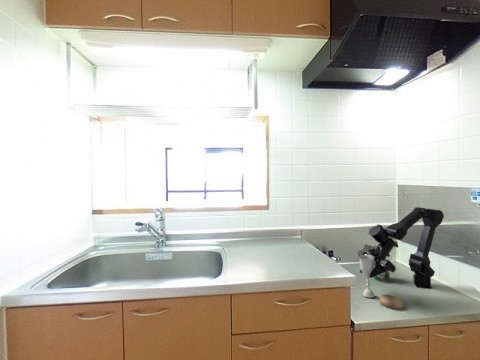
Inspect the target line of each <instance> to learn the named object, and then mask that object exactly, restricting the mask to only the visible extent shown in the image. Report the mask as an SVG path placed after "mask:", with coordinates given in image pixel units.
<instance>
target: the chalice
mask: <svg viewBox="0 0 480 360" xmlns="http://www.w3.org/2000/svg"><path fill="white" fill-rule="evenodd" d="M357 258H358V259H359V268H360V269H361V271H362V273H361V274H363V277H366V279H365V281H366V284H365V285H366V288H365V289H364V290H363V293H362V296H364V297H366V298H374V297H375V294H374V292H373V290H372V289H371V288H370V286H371V284H370V277H369V276H370V274H371V272H372V271H373V269H374V258H375V257H374V256H372V255H370V254H369V255H358V256H357Z"/></svg>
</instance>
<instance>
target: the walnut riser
mask: <svg viewBox="0 0 480 360" xmlns="http://www.w3.org/2000/svg"><path fill="white" fill-rule="evenodd" d="M379 305H380V306H382V307H384V308H386V309H390V310H395V311H398V310H402V309H404V300H403V299H402V298H401V297H399V296H396V295H392V294H381V295H380V296H379Z"/></svg>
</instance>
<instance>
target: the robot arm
mask: <svg viewBox="0 0 480 360" xmlns="http://www.w3.org/2000/svg"><path fill="white" fill-rule="evenodd" d="M444 215H445V214H444V212H443V211H442V210H441V209H435V208H425V207H419V206H416V207H414V208H413V209H412V210H411V212H409V213H408V214H407V215H406V216H405V217H404V218H402V219H401V220H400V221H397V222H395V223H392V224H391V225H389V226H387V227H385V228H384V226H383V225H381V224H379V223H378V224H376V225H375V226H372V227H371V228H369V230H368V234H369V236H371V237H372V239H373V240H374V241H375V242H377V243H378V244H377V245H374V246H372V245H369V244H366V243H364V246H363V249H359V250H358V251H357V253H356V254H357V255H358V256H359V255H372V256H374V257H375V258H374V262H375V267H374V269H373V271H372V272H371V274H370V276H369V279H373V277H374V276H376V275H379V274H381V273H384V272H388V271H390V273H395V272H396V265H394V264H393V263H392V262H391V260H390V259H389V260H386V258H390V257H391V254H390V253H391V252H392V250H393V248H399V244H398V241H402V240H403V239H404V238H405V237H406V236H407V235H408V230H409V229H411V227H413V226H414V225H415V224H416V223H417V222H419V221H420V220H422V222H423V223H422V224H423V226H422V227H423V228H422V230H421V234H420V239H419V240H418V244H417V245H418V246H417V248H416V251H415V252H414V253H411V254H409V259H408V266H409V267H410V271H411V272H413V273H414V274H412V279H413V280H412V282H413V284H414V285H415V287H416V288H422V289H429V290H431V289H433V287H432V284H431V283H432V279H431V278H432V277H434V276H435V274H436V273H435V270H434V269H433V268H432V267H431V260H430V257H429V255H430V254H429V253H430V252H431V251H430V250H431V246H432V242H433V239H434V236H435V232H436V230H437V229H436V228H438V227H439V226H440V225H441V224H442V222H443V219H444V217H445V216H444ZM396 240H397V241H396ZM387 269H388V271H387ZM359 273H361V274H363V273H362V271H361V268H360V269H359Z"/></svg>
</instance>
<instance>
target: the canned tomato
mask: <svg viewBox="0 0 480 360" xmlns="http://www.w3.org/2000/svg"><path fill="white" fill-rule="evenodd" d="M386 260H389V261H390V259H389V258H388V257H386ZM374 267H375V262H374ZM387 271H388V269H387ZM390 274H391V272H390V271H388V272H384V273H381V274H379V275H376V276H374V277H372V279H373V280H374V281H376V282H378V283H383V284H384V283H385V284H386V283H390V281H391V280H390V279H391V276H390Z"/></svg>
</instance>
